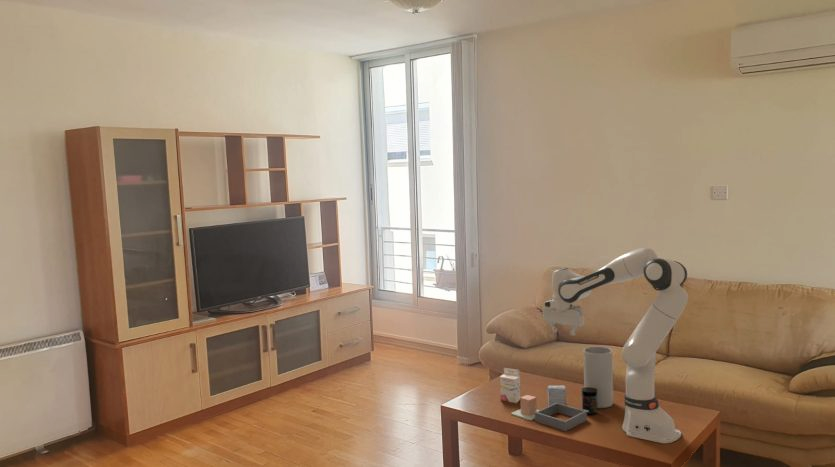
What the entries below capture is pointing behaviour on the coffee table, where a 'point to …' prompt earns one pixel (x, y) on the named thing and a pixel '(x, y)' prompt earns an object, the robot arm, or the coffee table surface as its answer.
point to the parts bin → (545, 418)
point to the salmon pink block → (528, 405)
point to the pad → (523, 415)
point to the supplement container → (589, 400)
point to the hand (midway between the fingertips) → (563, 333)
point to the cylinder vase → (599, 374)
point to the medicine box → (556, 395)
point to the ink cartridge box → (510, 386)
